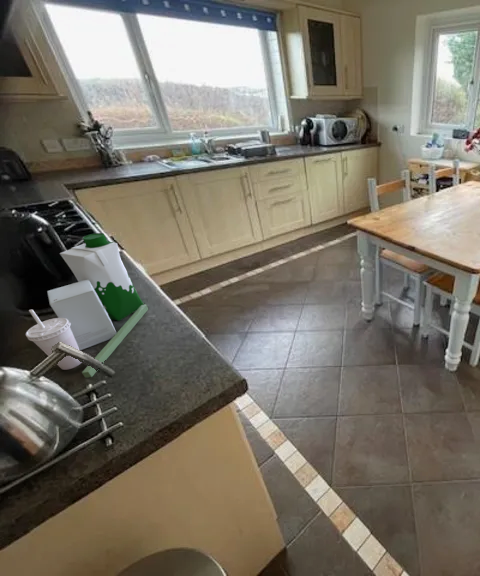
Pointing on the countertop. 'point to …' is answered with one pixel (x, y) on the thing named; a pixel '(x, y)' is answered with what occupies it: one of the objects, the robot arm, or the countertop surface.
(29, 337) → the smoothie
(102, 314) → the white packaging box
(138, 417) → the countertop surface
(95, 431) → the countertop surface
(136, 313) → the straightedge
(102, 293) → the soya milk
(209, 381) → the countertop surface
